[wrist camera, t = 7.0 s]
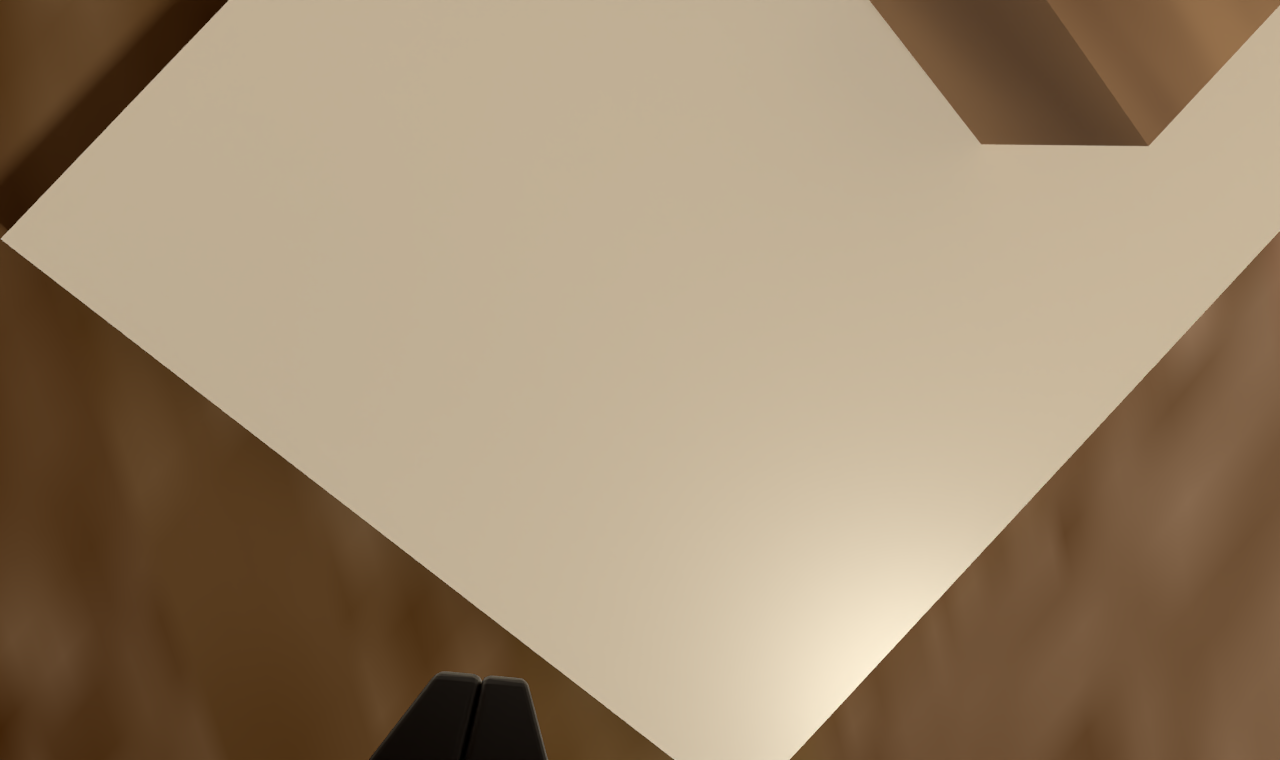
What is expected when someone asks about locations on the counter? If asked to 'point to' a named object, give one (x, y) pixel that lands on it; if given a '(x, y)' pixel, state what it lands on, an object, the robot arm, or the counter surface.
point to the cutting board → (653, 311)
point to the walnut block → (1072, 62)
